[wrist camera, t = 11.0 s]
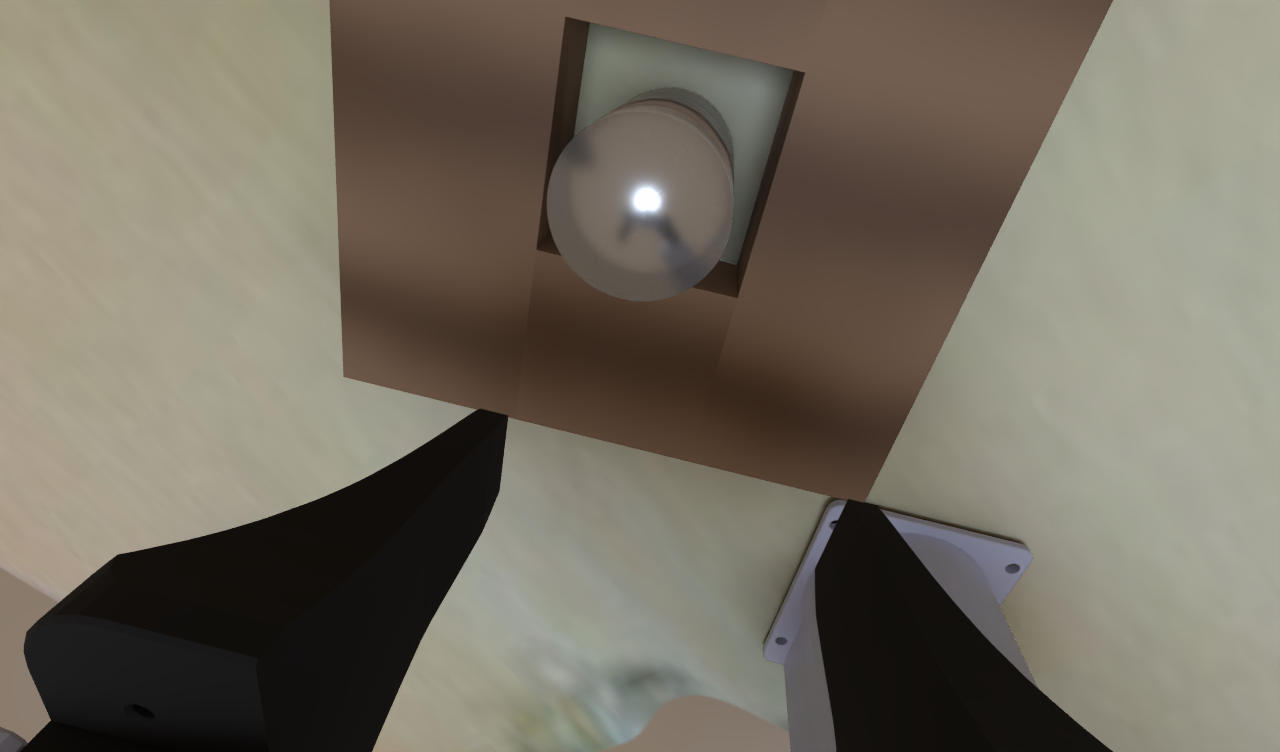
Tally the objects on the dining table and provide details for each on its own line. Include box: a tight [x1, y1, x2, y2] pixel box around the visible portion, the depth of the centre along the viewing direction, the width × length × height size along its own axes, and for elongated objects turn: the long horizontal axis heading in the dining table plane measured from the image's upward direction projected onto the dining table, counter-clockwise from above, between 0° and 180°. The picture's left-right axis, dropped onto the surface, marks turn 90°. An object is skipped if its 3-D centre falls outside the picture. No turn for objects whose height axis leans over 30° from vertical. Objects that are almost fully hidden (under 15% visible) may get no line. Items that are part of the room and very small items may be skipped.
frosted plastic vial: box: [547, 87, 734, 301], centre depth 16 cm, size 4×4×7 cm
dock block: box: [330, 0, 1113, 503], centre depth 18 cm, size 18×18×3 cm
